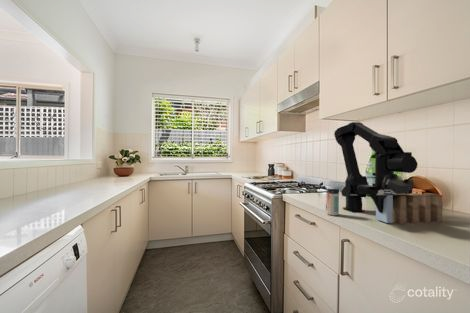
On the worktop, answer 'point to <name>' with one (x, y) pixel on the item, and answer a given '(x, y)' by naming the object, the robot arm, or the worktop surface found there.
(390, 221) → the slate domino
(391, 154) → the robot arm
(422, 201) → the domino
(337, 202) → the beer can
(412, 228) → the worktop surface
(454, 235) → the worktop surface
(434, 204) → the domino
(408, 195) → the domino
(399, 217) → the domino
